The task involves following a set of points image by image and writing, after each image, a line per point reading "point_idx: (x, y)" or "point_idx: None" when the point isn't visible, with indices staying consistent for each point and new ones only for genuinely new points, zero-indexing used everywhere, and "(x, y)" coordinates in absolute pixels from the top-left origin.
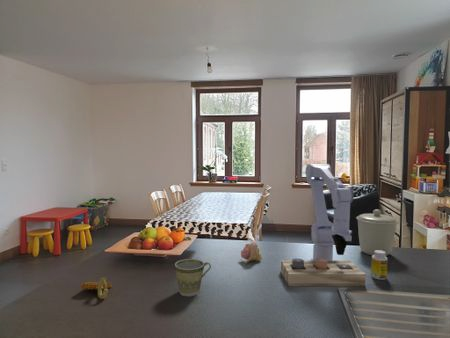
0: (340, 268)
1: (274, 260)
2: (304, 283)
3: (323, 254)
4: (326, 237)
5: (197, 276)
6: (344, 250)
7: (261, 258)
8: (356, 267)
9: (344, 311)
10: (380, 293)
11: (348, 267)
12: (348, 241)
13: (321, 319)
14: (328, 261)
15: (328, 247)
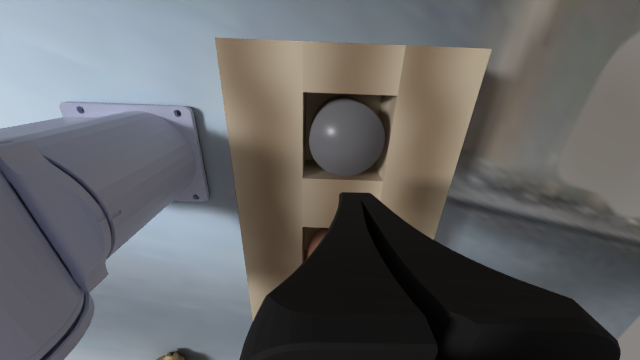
0: (359, 169)
1: (159, 316)
2: None
3: (157, 204)
4: (3, 285)
5: None
6: (390, 211)
7: (175, 358)
8: (365, 58)
9: (592, 236)
10: (549, 11)
11: (371, 125)
12: (523, 288)
13: (591, 298)
14: (253, 198)
15: (110, 202)
